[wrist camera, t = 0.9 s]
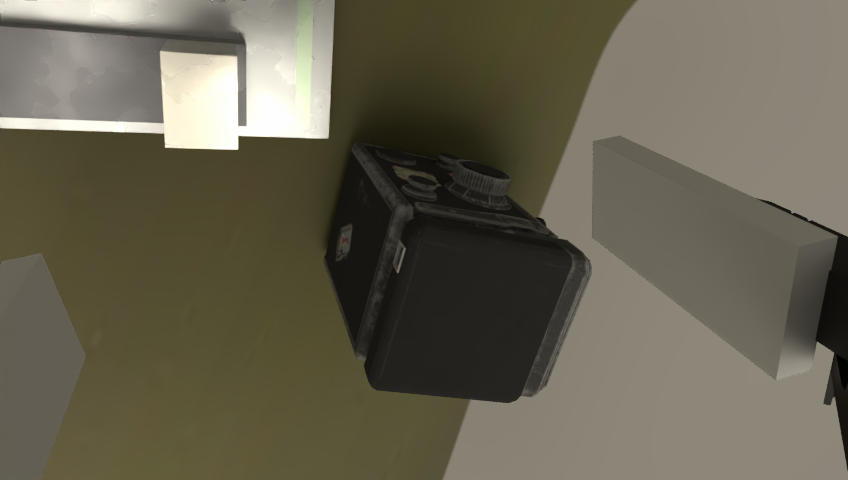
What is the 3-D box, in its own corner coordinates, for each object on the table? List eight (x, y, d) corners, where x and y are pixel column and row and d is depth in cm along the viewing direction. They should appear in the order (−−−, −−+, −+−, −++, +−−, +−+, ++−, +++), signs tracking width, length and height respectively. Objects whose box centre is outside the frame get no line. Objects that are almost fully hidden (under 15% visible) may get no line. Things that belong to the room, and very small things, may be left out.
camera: (461, 289, 44) (561, 428, 31) (315, 269, 40) (359, 418, 27) (508, 149, 41) (642, 239, 28) (353, 113, 37) (425, 197, 24)
